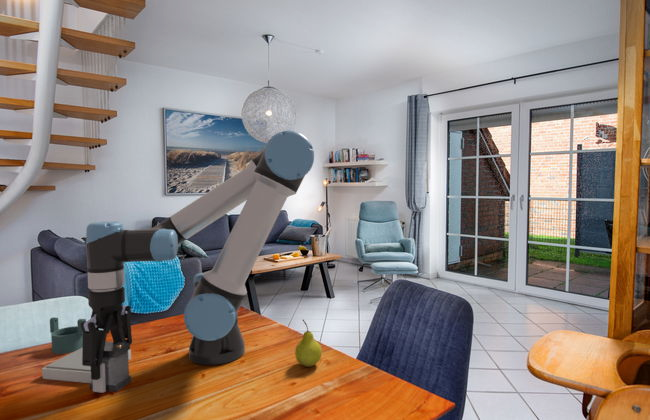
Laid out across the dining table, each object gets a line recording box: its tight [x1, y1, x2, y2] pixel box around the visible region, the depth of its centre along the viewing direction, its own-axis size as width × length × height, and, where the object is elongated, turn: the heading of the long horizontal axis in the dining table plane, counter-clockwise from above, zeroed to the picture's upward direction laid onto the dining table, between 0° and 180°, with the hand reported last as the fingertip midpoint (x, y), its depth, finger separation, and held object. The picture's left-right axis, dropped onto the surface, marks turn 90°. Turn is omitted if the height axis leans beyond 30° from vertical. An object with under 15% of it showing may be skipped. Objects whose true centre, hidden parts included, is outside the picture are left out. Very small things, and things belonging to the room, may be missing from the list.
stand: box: [41, 347, 132, 384], centre depth 103 cm, size 14×14×3 cm
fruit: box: [294, 319, 323, 368], centre depth 104 cm, size 7×7×12 cm
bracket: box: [49, 317, 87, 355], centre depth 117 cm, size 9×9×9 cm
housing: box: [89, 340, 132, 393], centre depth 94 cm, size 7×5×10 cm
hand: (110, 383), depth 94 cm, fingers open, 6 cm apart
